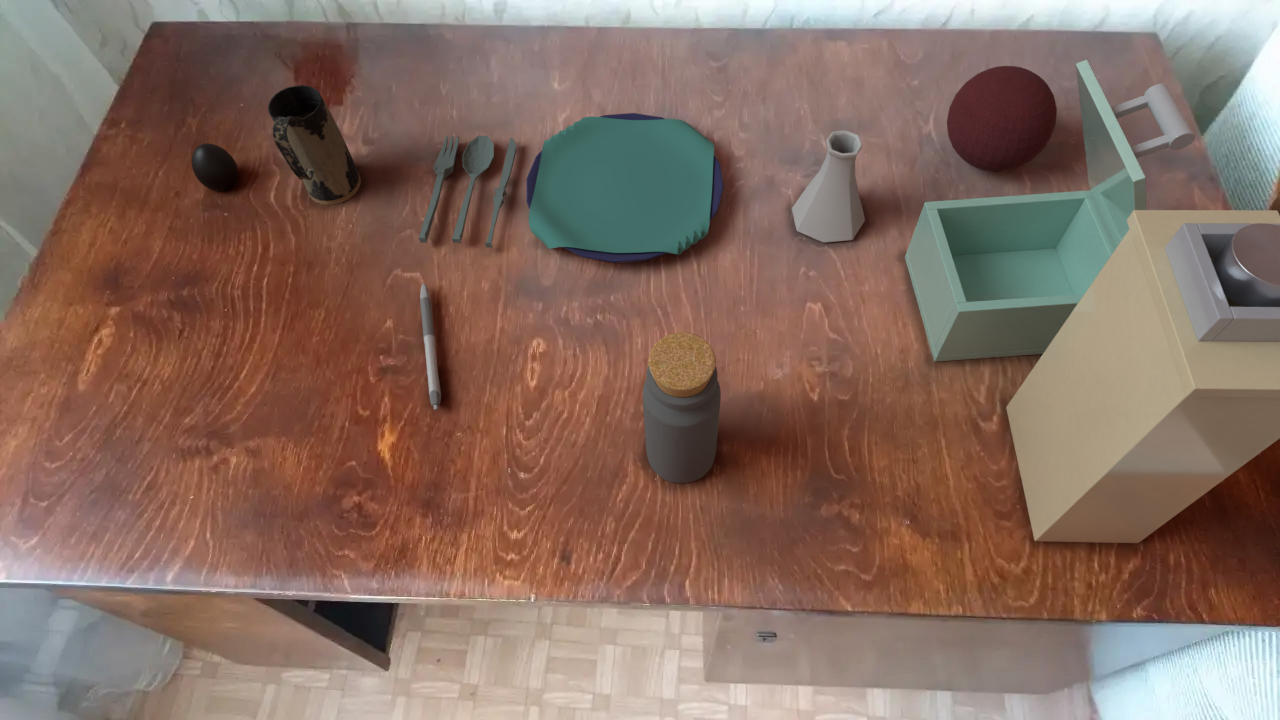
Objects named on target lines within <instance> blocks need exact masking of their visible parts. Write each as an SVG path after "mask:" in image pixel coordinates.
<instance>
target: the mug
mask: <svg viewBox="0 0 1280 720" xmlns="http://www.w3.org/2000/svg"><path fill="white" fill-rule="evenodd" d="M267 111H268V114H269V116H270V118H271V119H272V121H273V126H272V137H273V142H274V144H275V145H276V147H277V149H278V150H279V152H280V153H281V155H282V157H283V158H284V160H285V162H286V163H287V164H288V165H287V166H289V168H290V169H291V171H292V172H293V174H294V175H295V176H296V177H297V178H298V179H299V180H300V181H302V182H303V184H304V187H305V189H306V191H307V194H308V196H309V198H310V199H311V200H312V201H314V202H315V203H317V204H319V205H326V206H332V205H338V204H341V203H343V202H345V201H348V200H350V199H351V198H352V197H353V196H354V195H356V193H357V192H358V191H359V189H360V186H361V183H362V182H361V181H362V179H361V176H360V173H359V171H358V168H357V166H356V165H355V164H356V163H355V162H354V159H353V156H352V154H351V152H350V150H349V148H348V145H347V143H346V141H345V139H344V137H343V134H342V132H341V130H340V129H339V126H338V125H337V123H336V121H335V119H334V116H333V115H332V113H331V111H330V109H329V106H328V105H327V104H326V101H325V99H324V98H323V96H322V94H321V93H320V91H318V89H316V88H315V87H313V86H310V85H304V84H297V85H291V86H287V87H285V88H282V89H281V90H279V91H278V92H276V93H275V94H274V95H272V97H271V98H270V100H269V101H268V105H267Z"/></svg>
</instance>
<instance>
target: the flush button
mask: <svg viewBox="0 0 1280 720" xmlns="http://www.w3.org/2000/svg"><path fill="white" fill-rule="evenodd" d="M1212 263H1213V266H1214V268H1215V271H1216V273H1217V276H1218V279H1219V281H1220V284H1221V286H1222V289H1223V291H1224V294H1225V295H1226V296H1227V297H1228V298H1230V299H1231V300H1233V301H1234V302H1236V303H1238V304H1240V305H1242V306H1245V307H1280V226H1279V225H1274V224H1268V223H1257V224H1251V225H1248V226H1245V227H1243V228H1241V229H1240V230H1239V231H1237V232H1236V234H1235V235H1234V236H1233V237H1232V238H1231V239H1230V241H1229V242H1228V243H1227V244H1226V245H1225V246H1224V248H1223V249H1222V250H1221V251H1220V252H1219V253H1218V255H1217V256H1216V257H1215V258H1214V260H1213V262H1212Z"/></svg>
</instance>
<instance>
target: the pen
mask: <svg viewBox="0 0 1280 720" xmlns="http://www.w3.org/2000/svg"><path fill="white" fill-rule="evenodd" d="M419 293H420V294H419V299H420V300H419V305H420V315H421V326H422V336H423V343H424V344H423V345H424V353H425V364H426V376H427V384H428V385H427V386H428V396H429V402H430V405H431V407H433V410H434V411H438V410H439V407H440V406H441V400H442V391H441V390H442V389H441V383H440V382H441V381H440V377H439V371H438V370H439V369H438V360H437V359H438V358H437V351H436V337H435V335H436V334H435V327H434V316H433V307H432V300H431V294H430V290H429V287H428V286H427V284H426V283H425V282H423V283H422V284H421V286H420V292H419Z"/></svg>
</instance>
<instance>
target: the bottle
mask: <svg viewBox="0 0 1280 720" xmlns="http://www.w3.org/2000/svg"><path fill="white" fill-rule="evenodd" d="M647 363H648V365H647V368H646V379H645V381H644V384H643V387H642V407H643V408H642V410H643V423H644V424H643V426H644V437H645V451H646V457H647V461H648V464H649V466H650V468H651V469H652V471H653V472H654V473H655V474H656V475H657V476H659V477H660V478H661V479H663V480H665V481H666V482H669V483H674V484H689V483H692V482H693V483H694V482H696V481H698V480H701V478H703V477H705V475H707V474H708V472H709V471H710V470H711V468H712V466H713V465H714V462H715V459H716V453H717V445H718V435H719V425H720V424H719V423H720V412H721V399H722V398H721V397H722V396H721V395H722V394H721V393H722V392H721V391H722V389H721V385H720V382H719V380H718V367H717V358H716V354H715V351H714V349H713V347H712V346H711V345H710V343H709V342H708V341H706V340H705V339H704V338H703V337H701V336H699V335H697V334H695V333H691V332H673V333H669V334H667V335H665V336H663V337H661V338H660V339H658V340H657V341H656V342H655V343H654V345H652V347H651V349H650V352H649V354H648V362H647Z"/></svg>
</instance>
